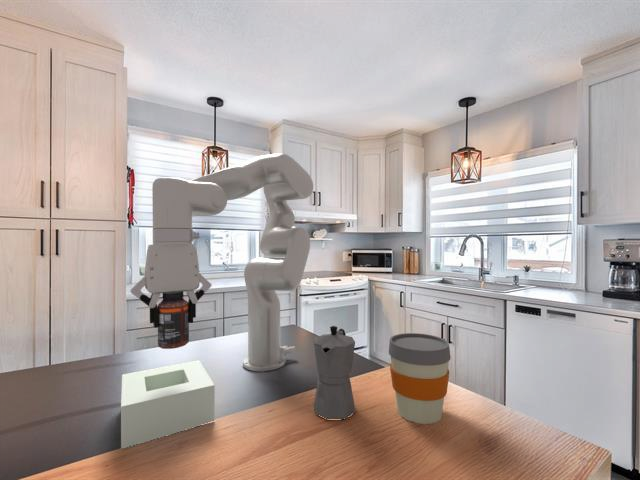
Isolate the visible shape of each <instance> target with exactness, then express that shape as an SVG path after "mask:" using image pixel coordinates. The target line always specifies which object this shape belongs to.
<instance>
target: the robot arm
mask: <svg viewBox="0 0 640 480" xmlns="http://www.w3.org/2000/svg"><path fill="white" fill-rule="evenodd" d="M151 188H152V191H151V192H152V196H151V198H152V244H148V246H147V250H146V257H145V270H144V272H145V274H144V276H143V277H142V278H141V279H140V280H139V281H138V282H137V283H136V284H135V285H133V287H132V288H131V289H130V293H131V295H133V296H135V297H136V298H137V299H139V300H140V301H141V302H142V303H143V304H145V305H147V307H149V324H153V327H154V329H155V328H156V329H158V327H159V309H158V304H157V303H158V301H159V299H160V296H161V295H162V294H163V293H171V292H183V293H186V295H187V298H188V301H187V302H188V307H189V324H193V323H194V318H197V303H198V301H199V300H200V299H201V298H202V297H204V295H205V293H206V292H208V290H209V289H211V287H212V283H211V282H210V281H209V280H208V279H206V278H205V277H204V276H203V275H202V274H201V273H200V265H199V256H198V251H197V246H196V244H194V243H193V242H194V240H196V239H200V232H196V231H194V229H193V217H210V216H217V215H218V214H221V212H223V211H224V210H225V209H226V208H227V204H228V201H233V200H234V201H235V200H237V199H238V200H239V199H241V198H245V197H247V196H250V195H251V194H253V193H255V192H257V191H259V190H260V189H263V193H264V197H265V199H266V202H267V205H268V210H269V214H268V218H267V221H266V224H265V227H264V230H263V233H262V236H261V239H260V241H259V250H260V252H261V253H262V254H263V255H264V256H266V257H255V258H253V259H251V260H249V261H248V262H247V264H246V265H245V267H244V271H243V279H244V282H245V288H246V294H247V327H248V328H247V355H248V356H246V357H245V358H243V360H242V367H243V368H245V369H246V370H249V371H253V372H267V371H268V372H269V371H274V370H277V369H280V368H281V367H283V366H284V365H285V364H286V363H287V362H286V361H287V360H286V357H285V356H286V355H289V354H294V353H296V347H295V346H294V345H293V346H289V347H288V345H283V346H282V345H281V302H280V299H279V296H278V294H277V292H276V291H279V292H292V291H295V290H297V289H298V287H299V286H300V284H301V282H302V279H303V276H304V272H305V269H306V264H307V262H308V257H309V254H310V250H311V237H310V234H309V232H308V230H307V229H305V228H304V227H302V226H295V223H296V222H295V221H296V220H295V219H296V218H295V217H296V216H295V214H294V211H293V210H292V208H291V206H289V204H288V202H287V201H294V200H296V201H297V200H304V199H305V200H306V199H308V198H309V197H310V196H312V194H313V191H314V183H313V179H312V177H311V175H310V174H309V172H308V171H306V170H305V168H304V167H302V166H301V165H300V164H299V163H298V162H297V160H295V159H294V157H291V156H290V155H289V154H285V153H282V152H280V153H272V154H271V153H270V154H265V155H260V156H255V157H253V158H252V157H251V158H250V159H247V160H246V161H245V160H244V161H243V162H241V163H238V164H235V165H232V166H230V167H226V168H223V169H220V170H217V171H215V172H212V173H210V174H206V175H202V176H199V177H196V178H193V179H190V180H187V179H184V178H181V177H173V176H171V177H169V176H167V177H166V176H165V177H164V176H163V177H158V178H156V179H154V181H153V182H152V187H151ZM200 284H201V285H202V286H201V287H200ZM144 287H145V289H146V290H147V292H148V293H149V294H151V295H150V297H149V296H148V295H146V294H145V293H144V292H142V289H143V288H144ZM197 289H198V290H197ZM195 291H196V292H195Z"/></svg>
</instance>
